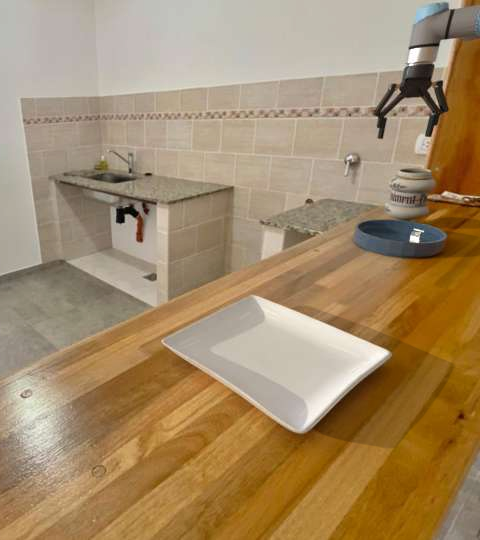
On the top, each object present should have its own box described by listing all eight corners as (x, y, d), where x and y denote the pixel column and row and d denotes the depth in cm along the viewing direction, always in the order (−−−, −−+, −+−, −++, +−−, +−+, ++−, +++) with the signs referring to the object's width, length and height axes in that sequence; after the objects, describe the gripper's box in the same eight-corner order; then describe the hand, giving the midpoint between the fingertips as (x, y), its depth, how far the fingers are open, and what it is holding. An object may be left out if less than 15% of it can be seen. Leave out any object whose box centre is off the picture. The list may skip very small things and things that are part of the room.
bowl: (439, 238, 113) (444, 224, 111) (444, 264, 97) (449, 248, 95) (356, 229, 124) (359, 216, 123) (348, 251, 109) (351, 236, 107)
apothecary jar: (373, 226, 126) (386, 171, 118) (385, 218, 133) (398, 165, 125) (418, 234, 117) (434, 175, 110) (428, 224, 124) (444, 168, 117)
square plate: (299, 455, 49) (303, 433, 48) (158, 356, 70) (158, 338, 68) (390, 368, 63) (396, 348, 62) (251, 306, 84) (252, 291, 82)
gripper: (461, 61, 116) (442, 135, 125) (369, 69, 123) (357, 138, 131) (475, 59, 110) (455, 136, 118) (377, 67, 116) (364, 140, 124)
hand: (403, 137), depth 125 cm, fingers open, 13 cm apart
